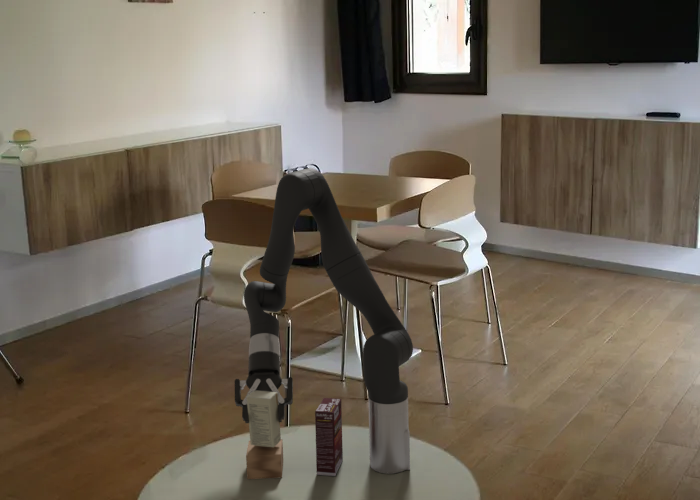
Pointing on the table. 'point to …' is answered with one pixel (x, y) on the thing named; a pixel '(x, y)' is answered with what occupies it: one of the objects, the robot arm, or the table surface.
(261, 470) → the brown wooden block
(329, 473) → the supplement box
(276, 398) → the skincare box
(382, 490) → the table surface
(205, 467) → the table surface
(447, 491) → the table surface
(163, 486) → the table surface
